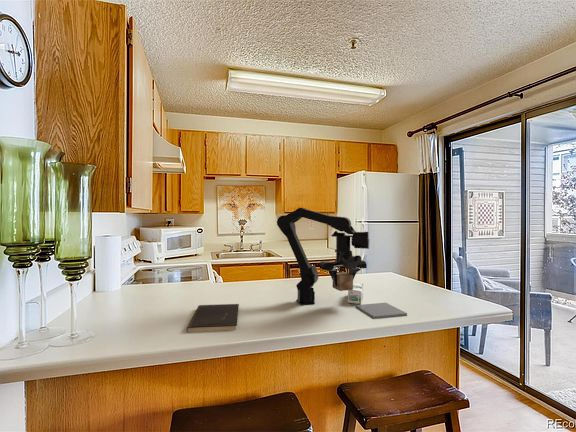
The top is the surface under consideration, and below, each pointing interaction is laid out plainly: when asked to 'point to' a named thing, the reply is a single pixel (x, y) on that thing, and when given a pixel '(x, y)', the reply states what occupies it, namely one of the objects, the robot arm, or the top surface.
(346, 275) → the walnut cube
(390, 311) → the trivet
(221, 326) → the hardcover book
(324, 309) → the top surface
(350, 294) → the syrup box
